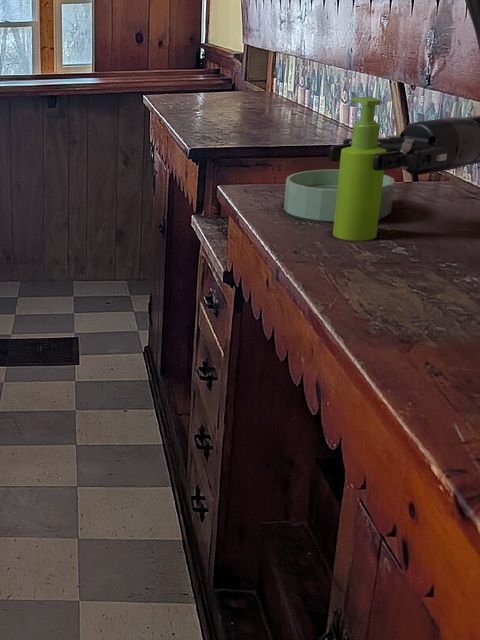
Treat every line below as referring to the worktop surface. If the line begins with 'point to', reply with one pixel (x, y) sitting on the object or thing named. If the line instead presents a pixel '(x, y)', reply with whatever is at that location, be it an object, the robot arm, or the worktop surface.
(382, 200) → the bowl
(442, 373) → the worktop surface
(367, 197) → the soap dispenser
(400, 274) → the worktop surface
